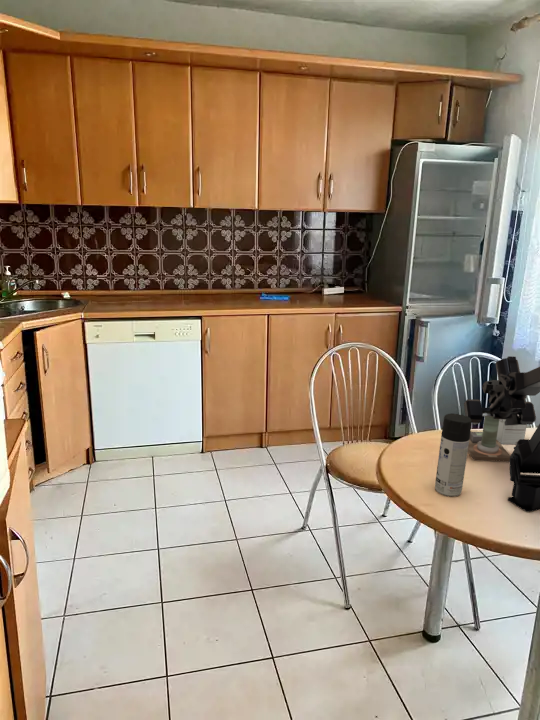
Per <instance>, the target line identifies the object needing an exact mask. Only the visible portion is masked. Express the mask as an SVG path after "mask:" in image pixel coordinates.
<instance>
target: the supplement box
mask: <svg viewBox="0 0 540 720" xmlns="http://www.w3.org/2000/svg"><path fill="white" fill-rule="evenodd" d="M505 421H506V419H499V426H498V433H497V441H498V442H499V443H500V444H501V445H508V446H509V445H512V446H513V445H514V446H516V445H517V442H518V441H519V440H520V439H525V437H526V432H527V425H528V424H527V425H509V426H505Z"/></svg>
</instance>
